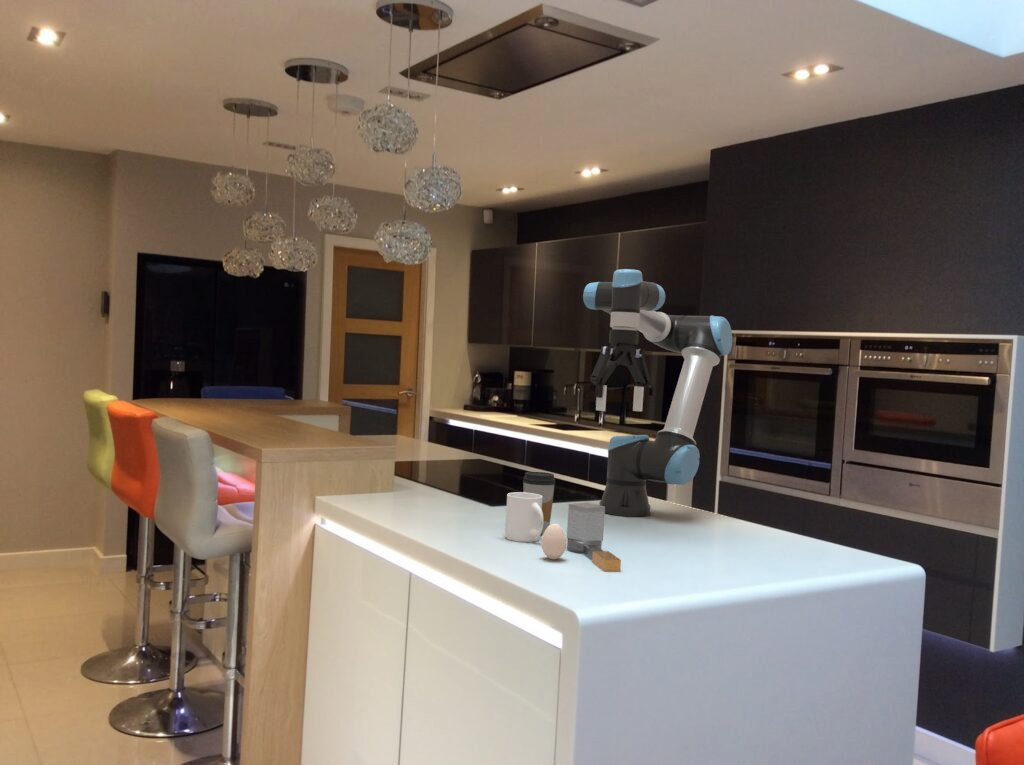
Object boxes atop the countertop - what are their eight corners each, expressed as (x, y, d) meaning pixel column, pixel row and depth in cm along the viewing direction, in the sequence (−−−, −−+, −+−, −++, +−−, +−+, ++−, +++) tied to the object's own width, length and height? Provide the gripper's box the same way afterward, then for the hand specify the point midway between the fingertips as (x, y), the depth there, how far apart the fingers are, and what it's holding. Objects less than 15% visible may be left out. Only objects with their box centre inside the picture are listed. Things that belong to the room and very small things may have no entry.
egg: (557, 563, 184) (560, 527, 184) (536, 559, 187) (538, 523, 187) (569, 559, 189) (571, 523, 189) (548, 555, 192) (550, 520, 191)
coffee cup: (549, 537, 211) (553, 477, 211) (516, 534, 213) (520, 474, 212) (554, 531, 219) (558, 473, 219) (522, 528, 221) (526, 470, 221)
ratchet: (594, 546, 204) (596, 519, 204) (630, 571, 181) (632, 540, 181) (562, 546, 202) (564, 518, 202) (594, 571, 179) (596, 540, 179)
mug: (526, 546, 199) (529, 501, 199) (497, 536, 209) (500, 493, 209) (555, 544, 204) (558, 499, 204) (526, 534, 214) (528, 491, 213)
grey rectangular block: (585, 535, 203) (587, 502, 203) (603, 540, 199) (605, 506, 198) (566, 537, 200) (568, 503, 199) (584, 542, 195) (586, 508, 195)
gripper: (646, 332, 232) (641, 410, 233) (579, 326, 217) (574, 409, 217) (667, 332, 226) (662, 412, 227) (599, 326, 211) (594, 411, 211)
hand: (619, 411), depth 222 cm, fingers open, 13 cm apart
